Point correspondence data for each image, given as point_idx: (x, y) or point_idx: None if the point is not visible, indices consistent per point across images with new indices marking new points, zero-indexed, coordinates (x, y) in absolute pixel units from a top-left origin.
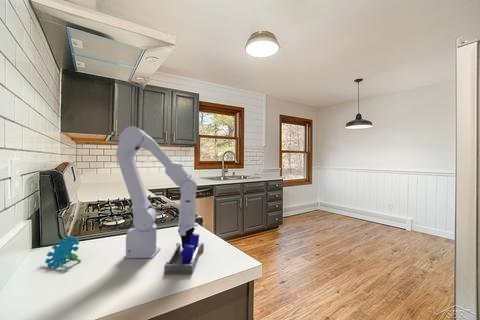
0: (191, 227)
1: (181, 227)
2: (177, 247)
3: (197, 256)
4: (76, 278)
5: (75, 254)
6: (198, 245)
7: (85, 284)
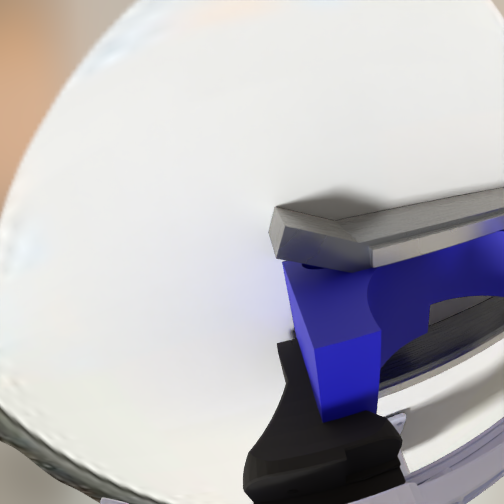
0: (473, 470)
1: (488, 486)
2: (409, 382)
3: (454, 204)
4: (461, 439)
5: None
6: (384, 255)
7: (489, 411)
